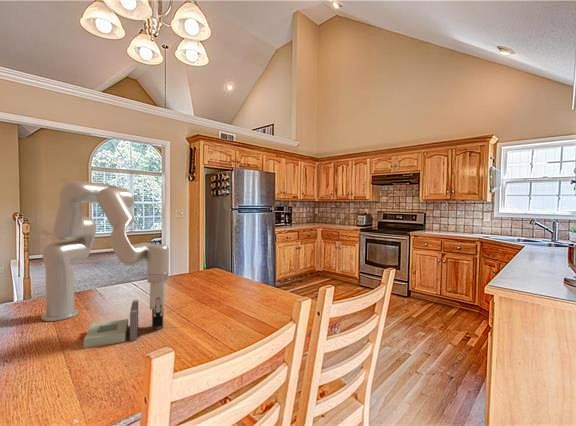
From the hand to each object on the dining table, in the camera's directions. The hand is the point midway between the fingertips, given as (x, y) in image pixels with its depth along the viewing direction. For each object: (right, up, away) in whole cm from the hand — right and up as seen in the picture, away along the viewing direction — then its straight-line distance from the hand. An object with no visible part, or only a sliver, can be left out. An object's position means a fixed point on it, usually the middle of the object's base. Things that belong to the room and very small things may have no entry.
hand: (157, 323), depth 114 cm
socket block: (-15, -2, -8) cm, 17 cm away
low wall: (-7, -2, -4) cm, 8 cm away
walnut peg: (0, -2, 0) cm, 2 cm away
